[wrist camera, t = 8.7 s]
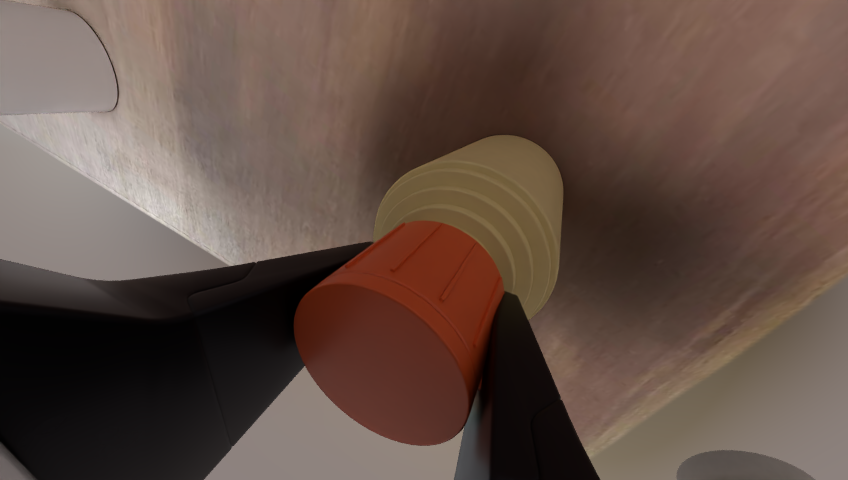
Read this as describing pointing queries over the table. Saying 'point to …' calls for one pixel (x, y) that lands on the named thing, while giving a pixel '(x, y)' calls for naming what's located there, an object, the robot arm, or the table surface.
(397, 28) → the table surface
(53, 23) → the pill bottle
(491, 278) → the cap
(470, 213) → the bottle
